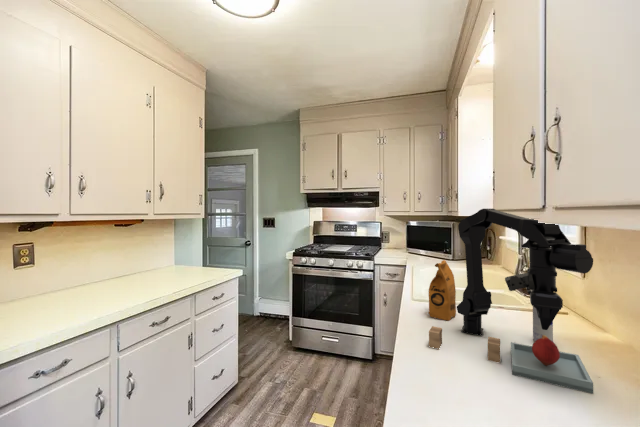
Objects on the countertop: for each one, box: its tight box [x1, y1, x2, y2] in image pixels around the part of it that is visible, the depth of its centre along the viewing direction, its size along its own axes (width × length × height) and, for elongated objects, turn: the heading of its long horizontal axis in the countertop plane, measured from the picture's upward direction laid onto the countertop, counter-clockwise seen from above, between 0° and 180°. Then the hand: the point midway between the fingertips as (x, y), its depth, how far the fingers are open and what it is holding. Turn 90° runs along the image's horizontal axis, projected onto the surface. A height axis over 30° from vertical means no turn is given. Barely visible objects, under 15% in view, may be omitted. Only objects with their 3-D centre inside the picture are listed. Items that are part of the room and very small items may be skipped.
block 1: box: [428, 325, 443, 350], centre depth 93 cm, size 5×3×5 cm, turn 148°
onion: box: [531, 335, 560, 366], centre depth 78 cm, size 6×6×8 cm
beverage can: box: [532, 306, 554, 342], centre depth 94 cm, size 5×5×15 cm
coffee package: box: [428, 259, 457, 322], centre depth 120 cm, size 10×12×22 cm
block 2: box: [487, 336, 501, 364], centre depth 84 cm, size 5×3×5 cm, turn 148°
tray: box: [510, 341, 594, 394], centre depth 78 cm, size 16×16×2 cm
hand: (542, 323), depth 79 cm, fingers open, 9 cm apart
